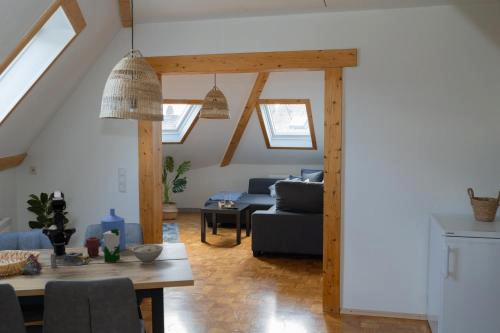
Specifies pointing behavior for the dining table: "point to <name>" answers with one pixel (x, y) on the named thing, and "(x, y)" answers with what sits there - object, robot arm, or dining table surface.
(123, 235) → the water jug
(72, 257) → the square socket plate
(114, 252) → the milk carton
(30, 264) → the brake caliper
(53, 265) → the gray square beam
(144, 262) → the bowl
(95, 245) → the mechanical component
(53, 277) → the dining table surface
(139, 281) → the dining table surface
